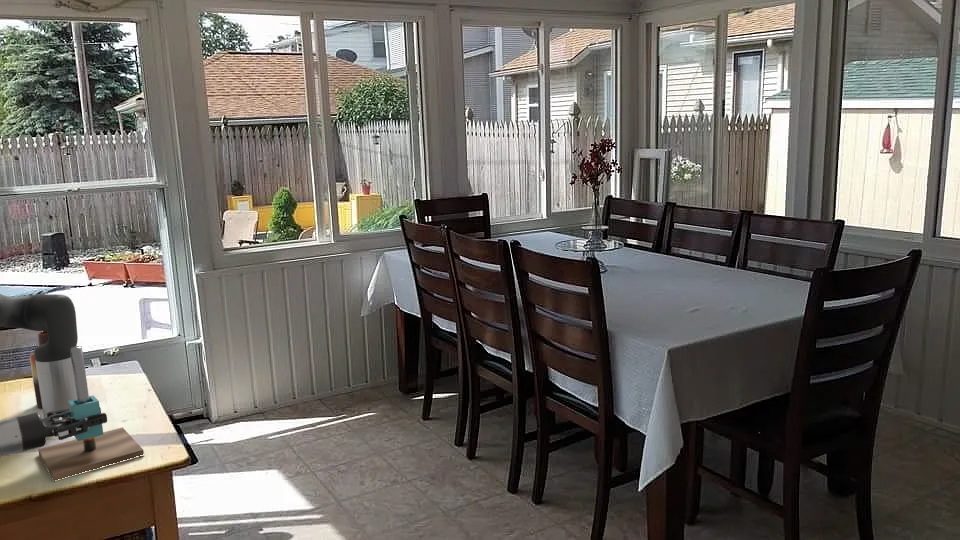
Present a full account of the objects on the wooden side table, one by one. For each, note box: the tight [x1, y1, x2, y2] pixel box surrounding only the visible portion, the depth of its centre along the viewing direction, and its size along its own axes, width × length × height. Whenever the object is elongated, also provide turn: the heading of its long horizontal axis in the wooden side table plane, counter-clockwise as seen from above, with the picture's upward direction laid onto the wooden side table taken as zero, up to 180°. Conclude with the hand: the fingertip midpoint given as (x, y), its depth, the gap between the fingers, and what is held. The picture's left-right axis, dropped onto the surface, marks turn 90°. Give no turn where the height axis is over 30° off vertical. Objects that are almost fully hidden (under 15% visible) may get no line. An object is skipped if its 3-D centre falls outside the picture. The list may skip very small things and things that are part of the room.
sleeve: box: [68, 395, 104, 441], centre depth 165 cm, size 5×5×8 cm
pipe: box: [70, 345, 96, 452], centre depth 165 cm, size 3×3×24 cm
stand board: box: [37, 427, 145, 482], centre depth 167 cm, size 18×18×2 cm
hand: (103, 413), depth 168 cm, fingers closed on sleeve, 5 cm apart
